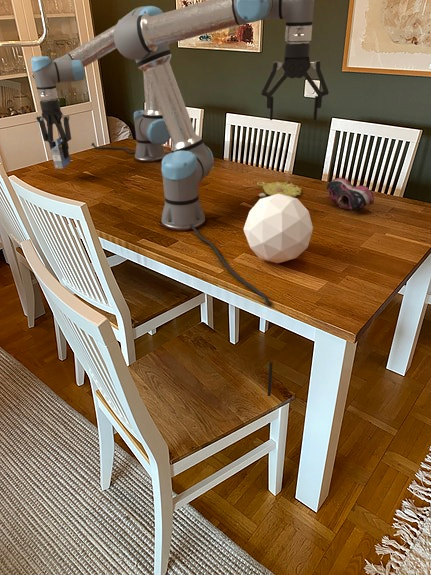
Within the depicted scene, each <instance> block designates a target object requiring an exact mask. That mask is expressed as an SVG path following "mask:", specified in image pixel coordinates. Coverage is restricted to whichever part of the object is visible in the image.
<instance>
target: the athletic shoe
mask: <svg viewBox="0 0 431 575" xmlns="http://www.w3.org/2000/svg"><path fill="white" fill-rule="evenodd" d="M326 190H327V192H328V195H329V196H325V198H326V199H327V200H332V202H333V203H334V204H335V206H338V207H339V208H340V209H344V210H350V211H357V210H359V209H361V208H365V207H368V206H370V205H373V204H374V202H375V200H374V199H375V198H374V194H373V191H372V190H371V189H369V187H368V186H366V185H361V184H360V185H353V184H352V182H350V180H348V179H347V178H345V177H336V178H334V179H332V180H330V181H329V182H328V183H327V185H326Z"/></svg>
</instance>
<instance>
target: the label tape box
mask: <svg viewBox="0 0 431 575" xmlns="http://www.w3.org/2000/svg"><path fill="white" fill-rule="evenodd" d="M55 140H56V141H55V142H56V146H55V147H54V148H52V149H50V151H51V155H52V160H53V166H54V169H60V170H61V169H65V168H66V167H67V166H68V165H69V164H70V163H71V162H72V161H71V157H70V150H69V149H68V150H67V151H68V156H69V157H67V158H64V153H63V149H62V144H61V143H62V142H63V141H62V139H61V136H59V137H58V138H56V139H55Z"/></svg>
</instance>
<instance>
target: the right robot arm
mask: <svg viewBox="0 0 431 575" xmlns="http://www.w3.org/2000/svg"><path fill="white" fill-rule="evenodd" d="M314 10H315V0H205V1H201V2H198V3H194V4H193V3H192V4H189V5H187V6H183V7H180V8H176V9H173V10H169V11H166V12H164V13H162V14H158V15H155V16H152V15H148V14H143V15H138V16H127V17H124V16H123V17H124V18H123V17H121V18H122V19H121V18H120V19H121V20H120V21H119V22H118V21H117V23H116V24H115V25H116V27H115V30H114V42H115V45H116V47H117V48H116V49H117V51H118V52H119V54H121V55H122V56H123V57H124V58H126V59H128V60H132V61H135V63H136V65H137V68H138V69H139V70H140V71H142V72H143V71H144V72H145V73H146V76H147V78H148V81H149V83H150V86H151V88H152V91H153V94H154V96H155V99H156V101H157V104H158V106H159V109H160V111H161V114H162V116H163V119H164V122H165V124H166V127H167V129H168V132H169V134H170V137H171V138H170V140H171V141H172V146H171V148H170V151H171V152H170V153H167V154H165V157H164V158H163V159H162V160H161V176H162V184H163V194H164V204H163V209H162V213H161V219H160V220H161V225H162V227H163V228H165V229H167V230H170V231H175V232H176V231H177V232H185V231H186V232H187V231H192V230H193V231H194V233H195V234H196V236H197V237H198V238H199V239H200V240H202V241H203V242H205V243H207V244H208V245H209V246H210V247H211V248H212V249H213V250H214V252H215V254H216V256H217V257H218V258H219V260H220V262H221V263H222V264H223V265H224V267H225V268H226V269H227V270H228V271H229V272H230V274H231V275H233V276H234V277H235V278H236V279H237V280H238V281H239V282H241V283H242V284H243V285H245V286H246V287H247V288H249V289H250V290H252V291H253V292H255V293H256V294H257V295H259V296H260V297H262V298H263V300H264V301H265V303H266V306H267V307H271V306H272V304H271V302H270V299H269V298H268V296H267V295H266V294H265V293H263V292H262V291H260V290H259V289H258V288H257V287H255V286H253V285H252V284H250V283H249V282H248V281H246V280H245V279H244V278H242V277H241V276H240V275H239V274H238V273H236V272H235V271H234V270H233V269H232V267H230V266H229V264H228V263H227V261H226V260H225V258H224V257H223V255H221V253H220V251H219V250H218V248H217V246H216V245H215V244H214V243H212V242H211V241H210V240H208V239H206V238H204V236H202V235H201V233H199V231H198V230H197V229H198V228H201V227H202V226H203V225H204V224H205V223H206V216H205V212H204V210H203V208H202V204H201V201H200V196H199V184H200V183H201V182H202V181H203V180H204V179H206V177H208V176H209V174H210V173H211V171H212V169H213V166H214V161H215V160H214V155H213V152H212V150H211V148H209V147H208V146H207V145H206V144H205V143H204V140H203V138H202V136H200V135H197V134H196V131H195V128H194V125H193V123H192V121H191V120H192V119H191V117H190V115H189V111H188V109H187V107H186V103H185V101H184V99H183V96H182V93H181V90H180V87H179V85H178V82H177V79H176V77H175V73H174V71H173V69H172V66H171V63H170V61H171V59H172V56H173V55H172V52H171V48H170V46H169V45H170V44H173V43H177V42H182V41H184V40H189V39H192V38H196V37H199V36H204V35H208V34H211V33H212V34H213V33H215V32H219V31H223V30H227V29H231V28H234V27H238V26H243V25H248V24H251V23H255V22H259V21H265V20H268V21H269V20H285V28H284V29H285V32H284V41H285V42H286V43H285V44H284V49H283V50H284V51H283V60H282V62H280V61H276V60H275V61H273V62H272V68H271V71H270V73H269V76H268V77H267V79H266V82H265V83H264V86H263V88H262V90H261V94H260V95H261V96H264V97H266V108H267V109H270V110H269V111H270V112H269V121H273V117H274V116H273V115H274V96H273V95H274V94H275V92H277V90H278V89H279V88H280V87H281V85H282V84H283V83H284V82H285V80H287V78H290V79H295V78H297V79H302V78H303V77H304V78H305V80H306V81H307V82H308V84H309V86H311V88H312V90H313V91H314V92H315V93H316V95H315V96H314V103H313V105H314V106H313V116H312V118H313V121H317V116H318V109H321V108H322V102H323V97H325V96H327V95H329V93H330V92H329V88H328V86H327V83H326V81H325V78H324V75H323V73H322V70H321V61H319V59H318V60H315V61H311V48H312V45H311V43H310V42H311V41H312V34H313V33H312V32H313V20H314ZM311 67H312V69H313V70H315V72H316V74H317V78H318V80H319V83H320V86H321V89H322V90H320V88H319V87H318V86H317V84H316V82H315V81H314V80H313V78H312V77H311V76H310V74H309V73H308V71H309V70H310V68H311ZM281 68H282V69H283V71H284V72H283V73H282V75H281V76H280V77H279V78H278V80H277V81H276V82H275V83H274V85H272V87H271V88H270V86H271V84H272V81H273V79H274V78H275V75H276V73H277V71H279V70H280V69H281ZM269 88H270V90H269ZM273 365H274V362H272V361H271V362H269V367H268V368H269V369H268V383H267V385H268V386H267V396H270V395H272V385H273V384H272V382H273V368H274V366H273ZM265 426H266V427H269V426H270V422H269V423H268V424H267V425H266V424H265Z"/></svg>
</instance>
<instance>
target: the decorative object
mask: <svg viewBox="0 0 431 575" xmlns="http://www.w3.org/2000/svg"><path fill="white" fill-rule="evenodd" d="M256 186H261V187H262V190H263V191H264V192H261V193H259V194H258V197H259V198H265V197H267V195H268V196H272V195H275V194H282V195H286V196H289V197H293V198H296V197H298V196H301V193H302V188H301V187H299V185H294V183H292V182H291V183H289V181H288V180H286V181H282V182H279V181H275V182H273V181H272V182H270V183H269V182H264V181H258V182H257V183H256Z"/></svg>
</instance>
